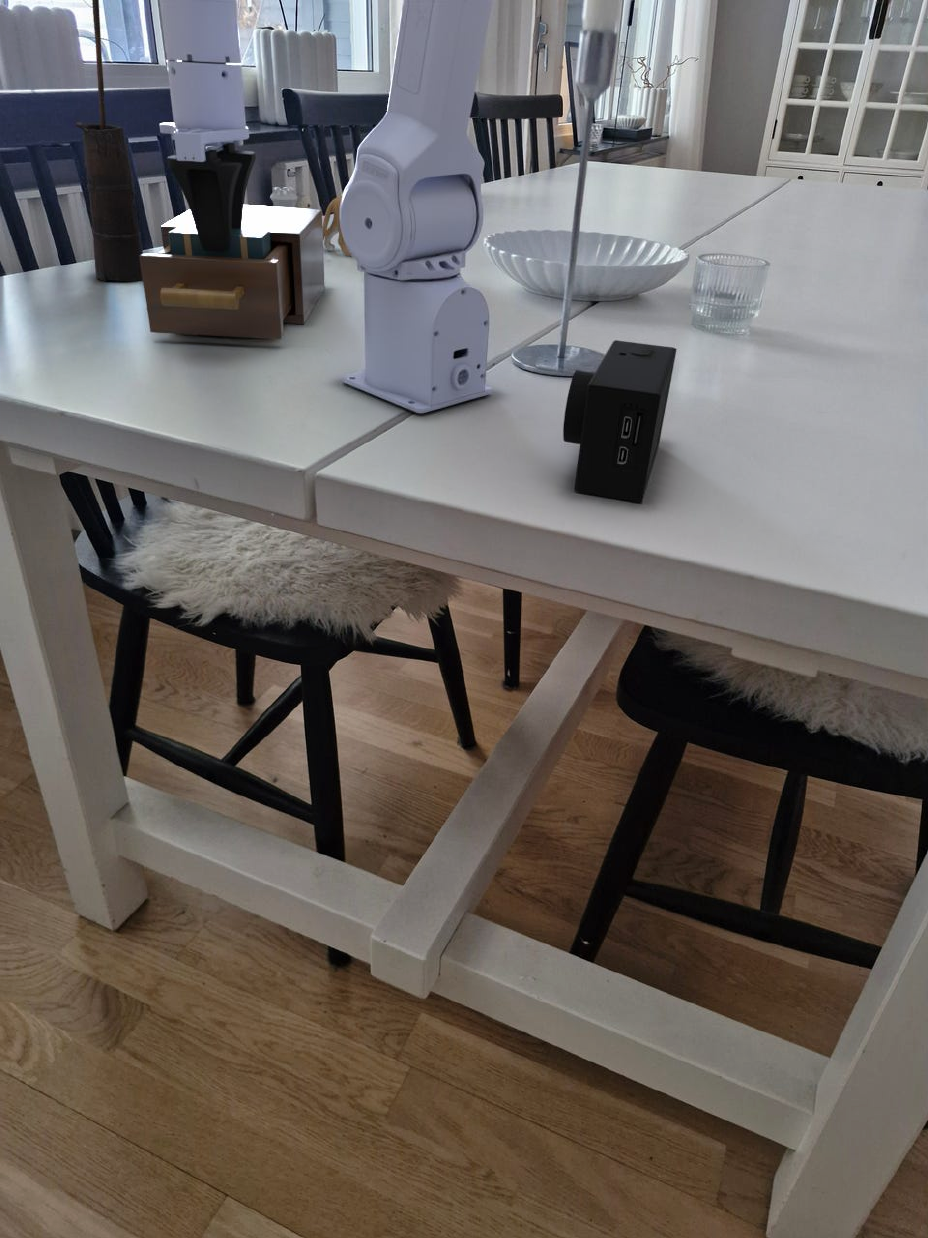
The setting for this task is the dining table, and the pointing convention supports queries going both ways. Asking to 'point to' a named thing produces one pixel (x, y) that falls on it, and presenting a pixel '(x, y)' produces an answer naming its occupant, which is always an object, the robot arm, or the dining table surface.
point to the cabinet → (284, 227)
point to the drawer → (219, 293)
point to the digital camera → (619, 419)
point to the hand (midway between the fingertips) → (221, 245)
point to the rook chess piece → (283, 197)
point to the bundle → (241, 246)
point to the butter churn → (110, 190)
